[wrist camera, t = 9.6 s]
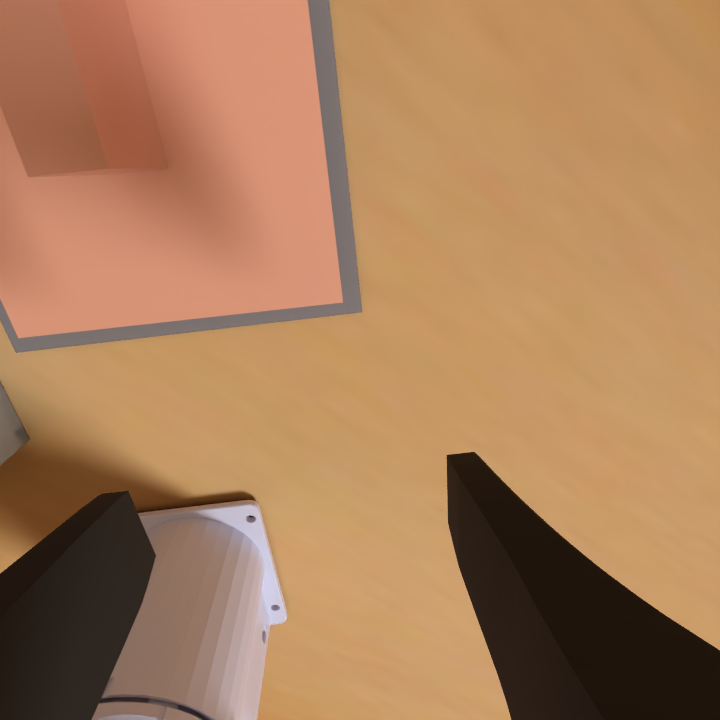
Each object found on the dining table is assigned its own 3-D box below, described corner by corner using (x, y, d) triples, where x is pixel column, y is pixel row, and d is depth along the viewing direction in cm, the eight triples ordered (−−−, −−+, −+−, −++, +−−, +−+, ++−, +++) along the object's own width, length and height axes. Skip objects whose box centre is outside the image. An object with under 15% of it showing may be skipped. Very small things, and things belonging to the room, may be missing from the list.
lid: (342, 291, 18) (345, 342, 13) (44, 324, 18) (-77, 389, 13) (270, -322, 11) (214, -751, 6) (-212, -276, 11) (-703, -674, 6)
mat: (361, 310, 19) (362, 312, 19) (20, 349, 19) (16, 352, 18) (286, -397, 11) (285, -411, 11) (-303, -336, 11) (-319, -349, 11)
